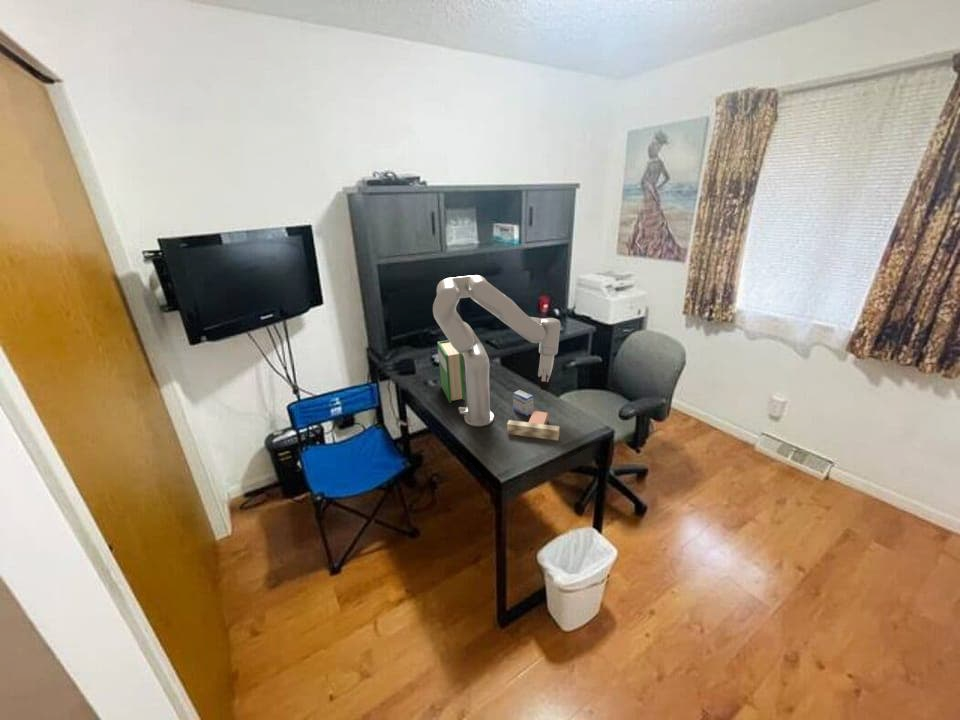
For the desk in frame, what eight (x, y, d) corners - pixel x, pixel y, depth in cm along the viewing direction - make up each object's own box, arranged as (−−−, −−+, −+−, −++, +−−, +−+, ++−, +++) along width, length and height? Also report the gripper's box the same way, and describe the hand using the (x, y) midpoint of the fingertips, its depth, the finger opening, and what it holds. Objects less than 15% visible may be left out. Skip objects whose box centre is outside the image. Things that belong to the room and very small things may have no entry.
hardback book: (465, 400, 178) (462, 352, 168) (449, 403, 176) (445, 355, 167) (455, 383, 194) (452, 339, 184) (441, 386, 192) (437, 341, 182)
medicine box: (512, 410, 168) (512, 392, 165) (519, 406, 171) (519, 389, 168) (526, 416, 163) (527, 398, 160) (533, 412, 166) (533, 395, 162)
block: (527, 431, 153) (527, 423, 152) (533, 418, 162) (533, 410, 160) (542, 434, 151) (542, 425, 150) (547, 421, 160) (547, 412, 158)
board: (507, 433, 152) (507, 424, 150) (508, 429, 155) (508, 420, 153) (558, 440, 147) (558, 430, 145) (559, 436, 149) (559, 426, 148)
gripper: (541, 341, 162) (538, 380, 169) (536, 354, 149) (532, 395, 156) (559, 343, 160) (555, 382, 167) (555, 356, 147) (551, 398, 154)
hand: (544, 389), depth 162 cm, fingers closed
